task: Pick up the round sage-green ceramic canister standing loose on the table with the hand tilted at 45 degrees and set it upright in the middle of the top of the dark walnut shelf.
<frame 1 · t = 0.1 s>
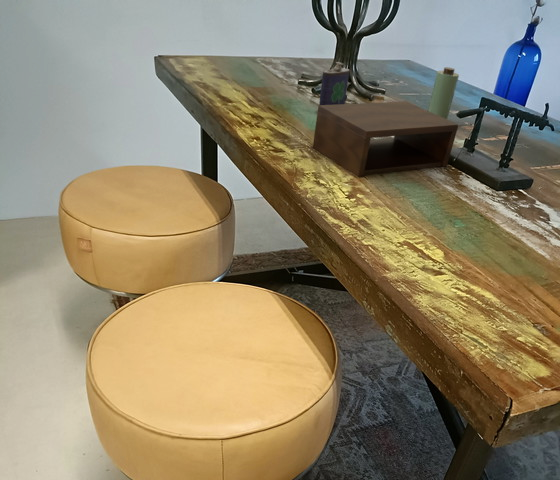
flask: (331, 112, 137), on the table
canister: (435, 123, 138), on the table
shelf: (379, 156, 114), on the table
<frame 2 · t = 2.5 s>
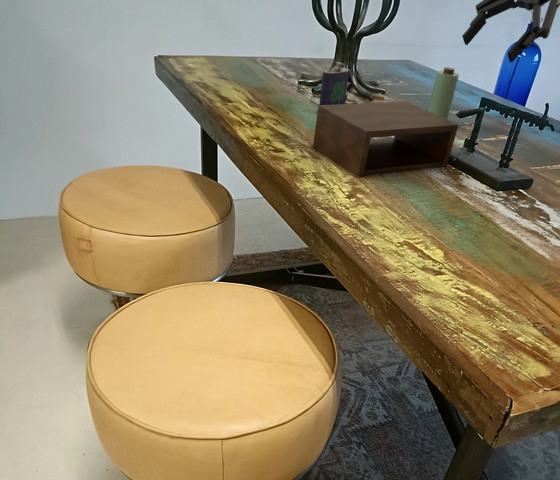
hand: (486, 49, 131), 16 cm above the table, tool tilted 45°, fingers open, 13 cm apart
nothing on the table moved.
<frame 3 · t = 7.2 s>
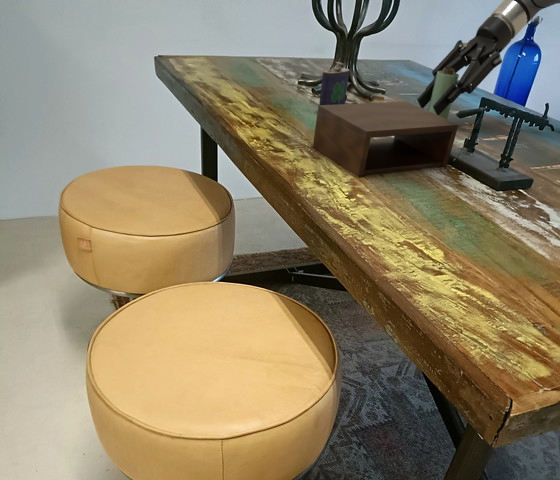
hand: (427, 107, 134), 4 cm above the table, tool tilted 45°, fingers closed on canister, 5 cm apart
canister: (435, 123, 138), on the table, touching gripper
everything else where it was.
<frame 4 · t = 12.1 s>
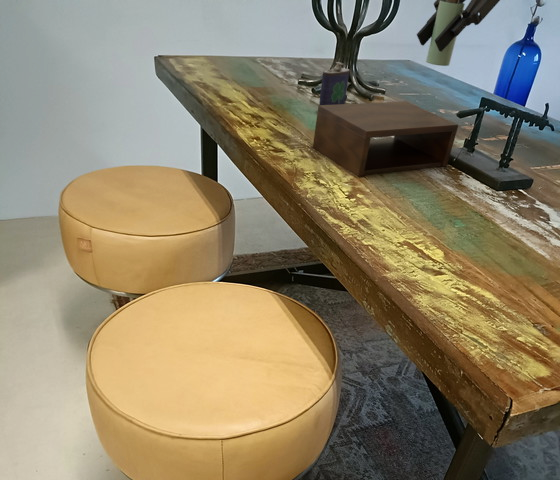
hand: (429, 42, 117), 18 cm above the table, tool tilted 45°, fingers closed on canister, 5 cm apart
canister: (437, 63, 121), point 14 cm above the table, touching gripper
everything else where it was.
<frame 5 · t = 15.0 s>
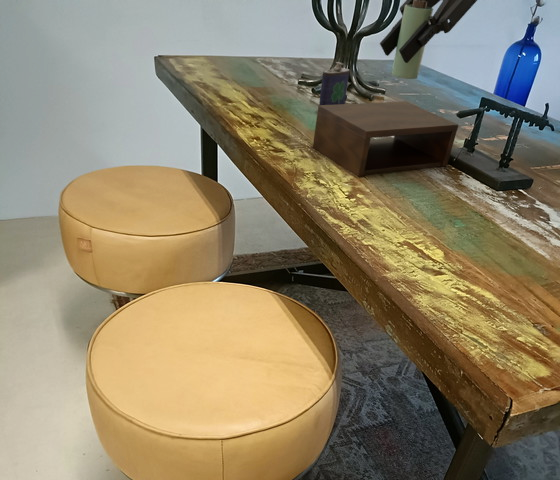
hand: (393, 53, 103), 18 cm above the table, tool tilted 45°, fingers closed on canister, 5 cm apart
canister: (404, 75, 107), point 14 cm above the table, touching gripper
everything else where it was.
when the fingers open (12 cm above the table, at t = 17.4 s): canister stays where it is, point 8 cm above the table.
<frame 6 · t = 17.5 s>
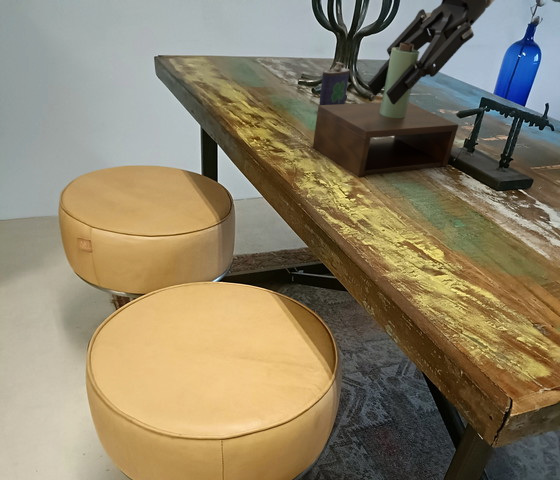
hand: (380, 94, 105), 12 cm above the table, tool tilted 45°, fingers open, 5 cm apart
canister: (392, 114, 109), point 8 cm above the table
everything else where it was.
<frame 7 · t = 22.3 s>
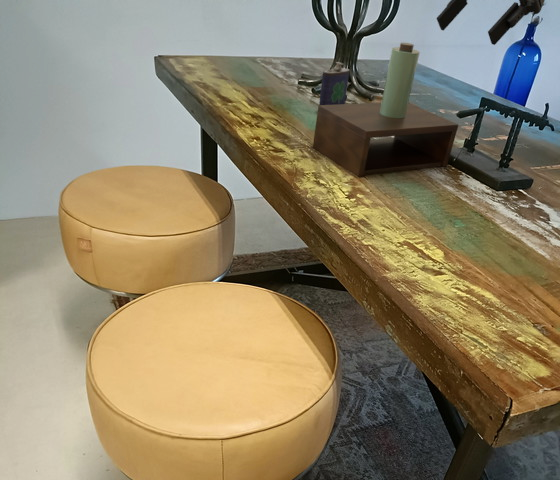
hand: (464, 31, 106), 22 cm above the table, tool tilted 45°, fingers open, 13 cm apart
canister: (392, 114, 109), point 8 cm above the table, touching shelf
everything else where it was.
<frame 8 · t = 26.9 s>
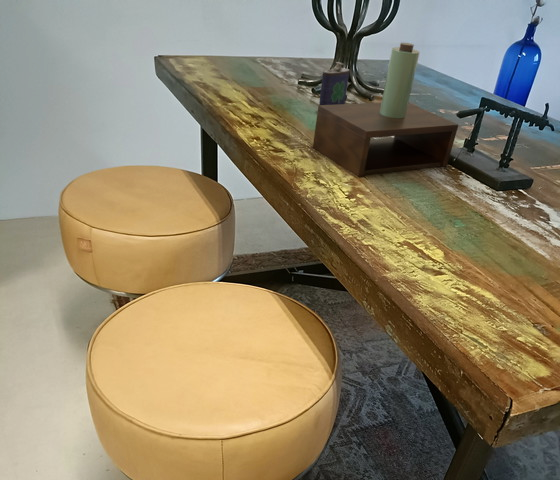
nothing on the table moved.
at the end: canister inside the target area on the shelf (1.0 cm from its centre), point 8.0 cm above the shelf's base; canister tilted 0°; the gripper is holding nothing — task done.
